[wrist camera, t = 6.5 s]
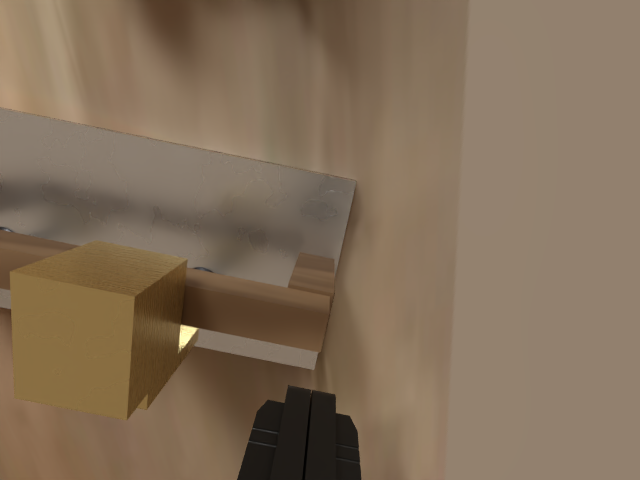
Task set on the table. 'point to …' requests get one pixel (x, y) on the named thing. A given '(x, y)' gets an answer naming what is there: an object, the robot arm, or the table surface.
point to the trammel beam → (224, 295)
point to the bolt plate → (170, 207)
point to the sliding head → (98, 328)
